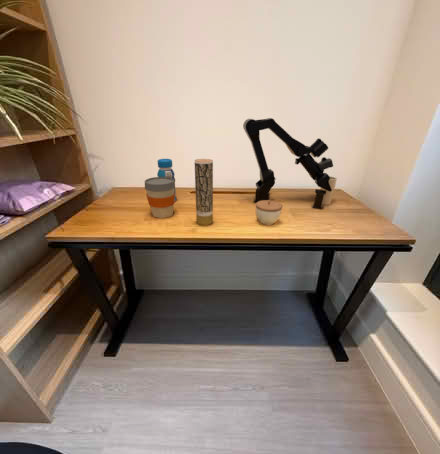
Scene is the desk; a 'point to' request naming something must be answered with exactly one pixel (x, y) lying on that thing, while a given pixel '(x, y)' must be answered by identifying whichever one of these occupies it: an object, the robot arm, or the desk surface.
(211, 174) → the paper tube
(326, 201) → the pen pot
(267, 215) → the trinket box
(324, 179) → the robot arm
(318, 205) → the leg piece
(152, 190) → the reusable coffee cup
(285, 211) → the desk surface
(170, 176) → the beverage bottle
